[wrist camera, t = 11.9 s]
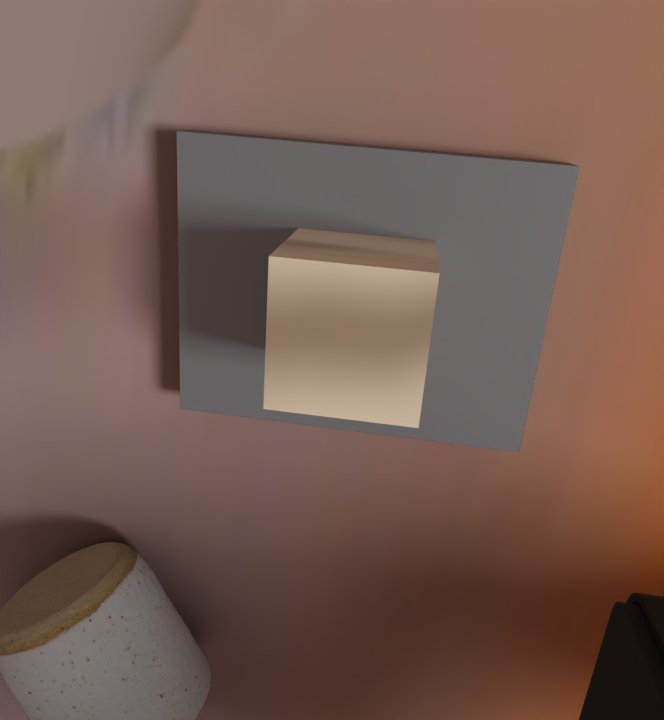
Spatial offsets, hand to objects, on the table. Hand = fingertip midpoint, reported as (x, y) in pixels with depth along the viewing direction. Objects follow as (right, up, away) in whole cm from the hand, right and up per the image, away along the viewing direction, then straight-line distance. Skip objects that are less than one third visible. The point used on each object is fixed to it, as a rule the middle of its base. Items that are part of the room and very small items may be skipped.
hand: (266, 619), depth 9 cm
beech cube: (+2, +6, +15) cm, 16 cm away
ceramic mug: (-10, -9, +25) cm, 28 cm away
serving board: (+2, +6, +16) cm, 18 cm away
